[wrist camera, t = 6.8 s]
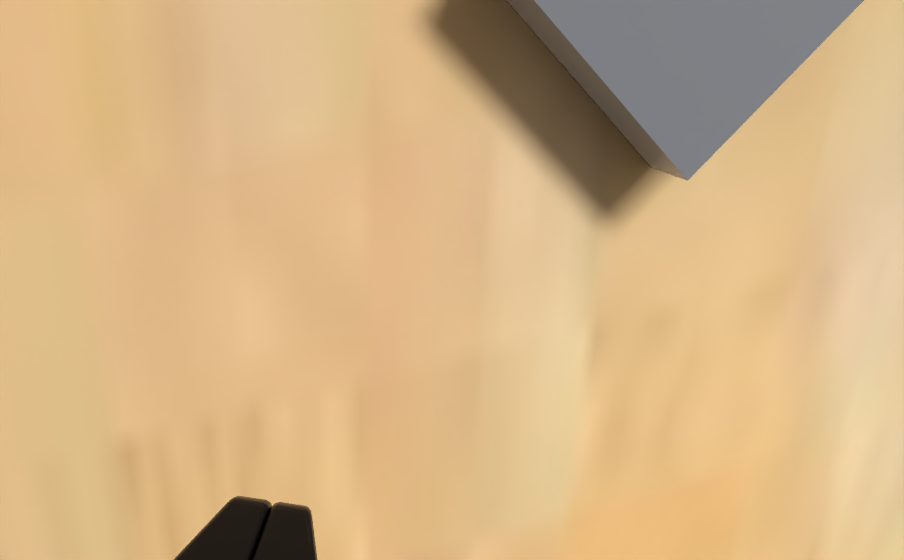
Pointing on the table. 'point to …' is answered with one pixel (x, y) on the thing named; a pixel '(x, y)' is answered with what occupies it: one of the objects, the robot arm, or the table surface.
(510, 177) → the table surface
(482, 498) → the table surface
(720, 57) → the glazed tile
